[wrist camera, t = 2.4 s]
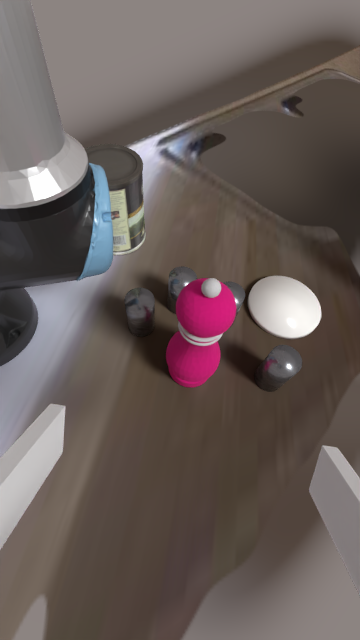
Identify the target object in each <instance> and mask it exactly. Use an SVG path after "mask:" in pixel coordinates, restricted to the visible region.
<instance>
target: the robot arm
mask: <svg viewBox="0 0 360 640" xmlns="http://www.w3.org/2000/svg"><path fill="white" fill-rule="evenodd" d="M112 259H113V226H112V219H111V202H110V195H109V188H108V182H107V178H106V175H105V171H104V169H103V168H102V167H101V166H99V165H95V164H92V163H89V162H88V157H87V154H86V151H85V149H84V148H83V146H82V145H81V144H80V143H79V142H78V141H77V140H76V139H74V138H73V137H71V136H70V135H68V134H67V133H65V132H64V130H63V126H62V122H61V118H60V115H59V111H58V107H57V102H56V99H55V95H54V91H53V87H52V83H51V79H50V75H49V71H48V67H47V63H46V59H45V56H44V51H43V47H42V43H41V39H40V35H39V31H38V28H37V23H36V19H35V16H34V12H33V8H32V4H31V0H0V366H2V365H4V364H5V363H7V362H9V361H10V360H12V359H13V358H14V357H16V356H17V355H18V354H19V353H20V352H21V351H22V350H23V349H24V348H25V347H26V346H27V345H28V343H29V342H30V340H31V339H32V337H33V335H34V333H35V330H36V327H37V323H38V312H37V308H36V305H35V303H34V302H33V300H32V298H31V297H30V295H29V294H28V292H27V291H26V290H25V289H24V287H31V286H38V285H45V284H52V283H59V282H66V281H73V280H81V279H83V278H85V277H90V276H94V275H99V274H102V273H104V272H106V271H107V270H108V269H109V267H110V266H111V263H112ZM64 421H65V406H63V405H56V404H50V405H49V406H48V407H47V408H46V409H45V410H44V411H43V412H42V413H41V414H40V415H39V417H38V418H37V419H36V420H35V421H34V422H33V423H32V424H31V425H30V426H29V427H28V428H27V430H26V431H25V432H24V433H23V434H22V435H21V436H20V437H19V438H18V439H17V440H16V442H15V443H14V444H13V445H12V446H11V447H10V448H9V449H8V450H7V451H6V452H5V453H4V455H3V456H2V457H1V458H0V549H1V548H2V546H3V545H4V543H5V542H6V540H7V539H8V537H9V535H10V534H11V532H12V531H13V529H14V528H15V526H16V524H17V523H18V521H19V520H20V518H21V517H22V515H23V514H24V512H25V510H26V509H27V507H28V506H29V504H30V503H31V501H32V499H33V498H34V496H35V495H36V493H37V492H38V490H39V489H40V487H41V485H42V484H43V482H44V481H45V479H46V478H47V476H48V475H49V473H50V471H51V470H52V468H53V467H54V465H55V464H56V462H57V460H58V459H59V457H60V456H61V454H62V453H63V439H64ZM309 492H310V494H311V496H312V498H313V500H314V502H315V505H316V507H317V508H318V511H319V513H320V515H321V517H322V519H323V521H324V523H325V525H326V527H327V529H328V532H329V534H330V536H331V538H332V540H333V542H334V544H335V546H336V548H337V550H338V552H339V554H340V556H341V558H342V561H343V563H344V565H345V567H346V569H347V571H348V573H349V575H350V577H351V579H352V581H353V583H354V586H355V588H356V590H357V592H358V594H359V596H360V478H359V477H358V475H357V474H356V473H355V471H354V470H353V469H352V467H351V466H350V464H349V463H348V462H347V460H346V459H345V458H344V456H343V455H342V453H341V452H340V451H339V449H338V448H336V447H329V446H322V448H321V451H320V455H319V458H318V461H317V465H316V468H315V471H314V475H313V478H312V481H311V485H310V488H309Z"/></svg>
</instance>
